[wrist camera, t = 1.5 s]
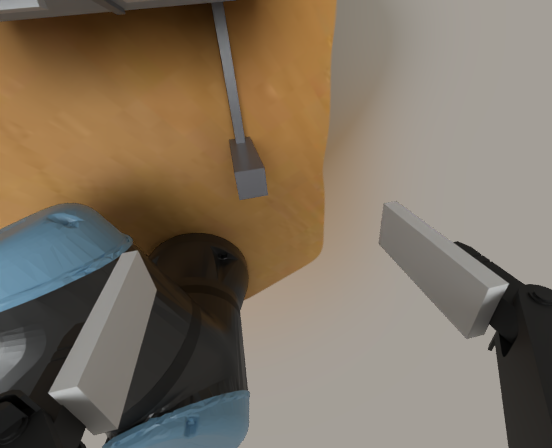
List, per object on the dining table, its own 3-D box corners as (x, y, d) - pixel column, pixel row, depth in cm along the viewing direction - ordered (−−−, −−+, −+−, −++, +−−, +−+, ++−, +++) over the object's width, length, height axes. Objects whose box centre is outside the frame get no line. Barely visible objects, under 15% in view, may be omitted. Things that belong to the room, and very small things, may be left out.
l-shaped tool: (252, 156, 33) (268, 195, 23) (233, 159, 33) (239, 200, 23) (222, -42, 24) (226, -127, 13) (194, -40, 23) (176, -125, 13)
